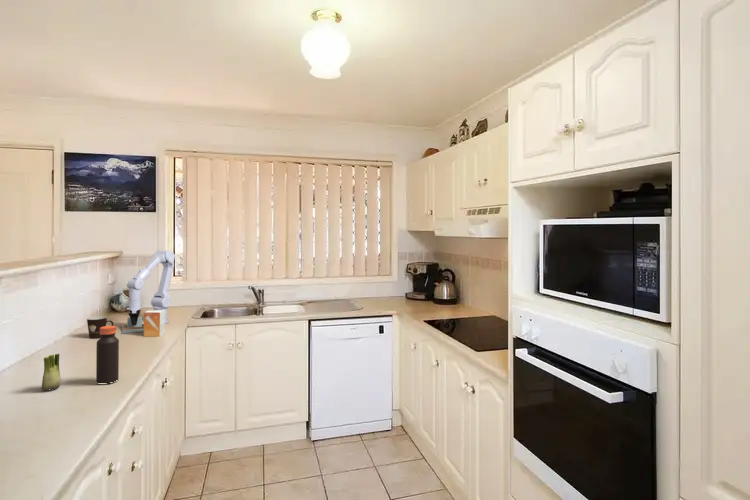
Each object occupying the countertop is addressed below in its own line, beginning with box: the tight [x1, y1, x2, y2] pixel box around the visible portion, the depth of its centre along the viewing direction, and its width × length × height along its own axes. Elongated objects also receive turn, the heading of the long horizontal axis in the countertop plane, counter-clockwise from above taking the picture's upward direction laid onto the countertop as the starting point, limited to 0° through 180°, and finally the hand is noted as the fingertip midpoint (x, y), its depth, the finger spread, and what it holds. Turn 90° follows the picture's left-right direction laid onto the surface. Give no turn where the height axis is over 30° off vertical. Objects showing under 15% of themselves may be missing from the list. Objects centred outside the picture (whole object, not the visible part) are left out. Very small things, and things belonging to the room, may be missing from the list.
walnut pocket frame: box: [121, 323, 144, 331], centre depth 231 cm, size 9×12×1 cm
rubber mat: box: [121, 328, 144, 335], centre depth 223 cm, size 8×11×1 cm
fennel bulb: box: [41, 352, 62, 391], centre depth 139 cm, size 6×5×12 cm
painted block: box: [126, 316, 143, 328], centre depth 231 cm, size 4×7×6 cm, turn 118°
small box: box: [143, 309, 165, 338], centre depth 215 cm, size 8×6×13 cm
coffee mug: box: [86, 315, 114, 340], centre depth 208 cm, size 12×9×10 cm
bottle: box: [95, 325, 120, 384], centre depth 147 cm, size 7×7×20 cm
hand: (134, 323), depth 231 cm, fingers open, 7 cm apart
